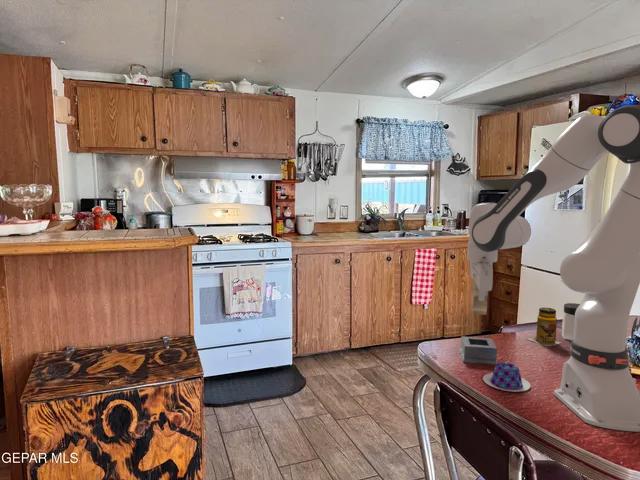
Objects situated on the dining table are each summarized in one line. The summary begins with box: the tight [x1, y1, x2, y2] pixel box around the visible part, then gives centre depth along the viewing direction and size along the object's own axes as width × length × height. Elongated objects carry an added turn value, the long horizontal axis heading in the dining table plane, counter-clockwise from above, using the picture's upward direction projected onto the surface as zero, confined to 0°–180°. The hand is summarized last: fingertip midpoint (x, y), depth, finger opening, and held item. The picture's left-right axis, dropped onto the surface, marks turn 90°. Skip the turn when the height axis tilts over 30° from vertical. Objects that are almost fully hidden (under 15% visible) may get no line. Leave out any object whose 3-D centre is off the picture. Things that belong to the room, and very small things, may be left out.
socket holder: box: [459, 336, 499, 366], centre depth 137 cm, size 10×10×5 cm
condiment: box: [526, 307, 561, 347], centre depth 151 cm, size 7×8×12 cm
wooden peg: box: [470, 274, 489, 316], centre depth 135 cm, size 4×4×12 cm
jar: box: [561, 302, 581, 342], centre depth 155 cm, size 9×8×12 cm
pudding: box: [482, 362, 532, 393], centre depth 118 cm, size 12×12×5 cm
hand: (479, 298), depth 135 cm, fingers closed on wooden peg, 4 cm apart
